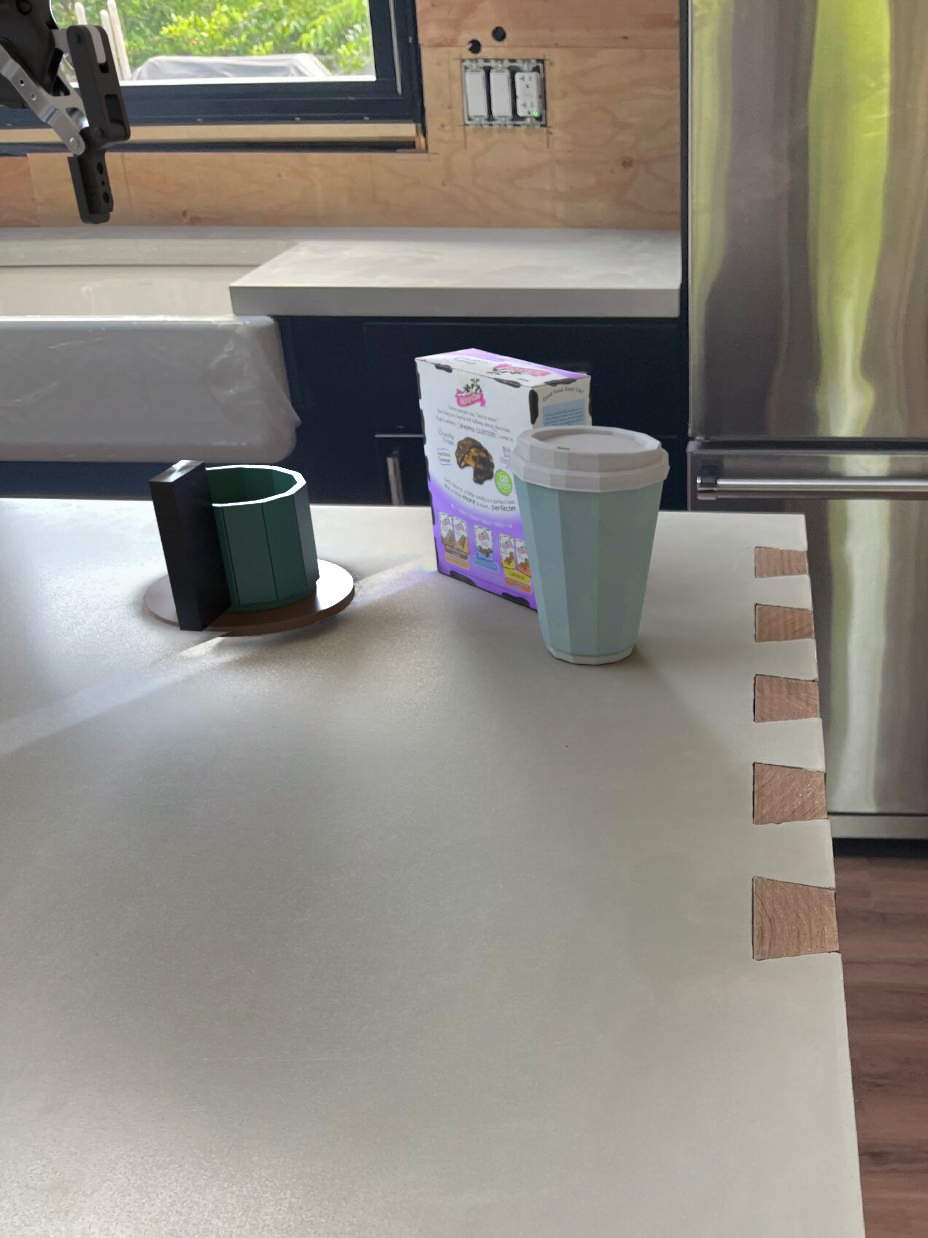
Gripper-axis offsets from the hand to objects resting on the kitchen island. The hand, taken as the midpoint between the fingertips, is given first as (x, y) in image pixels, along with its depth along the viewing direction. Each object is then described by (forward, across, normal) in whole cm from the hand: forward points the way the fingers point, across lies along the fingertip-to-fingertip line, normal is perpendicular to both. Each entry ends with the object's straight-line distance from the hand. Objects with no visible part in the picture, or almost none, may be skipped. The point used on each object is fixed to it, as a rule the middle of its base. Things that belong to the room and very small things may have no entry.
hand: (37, 219), depth 85 cm
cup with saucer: (+25, +9, +1) cm, 27 cm away
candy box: (+26, +26, +13) cm, 39 cm away
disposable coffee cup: (+26, +36, +2) cm, 44 cm away
